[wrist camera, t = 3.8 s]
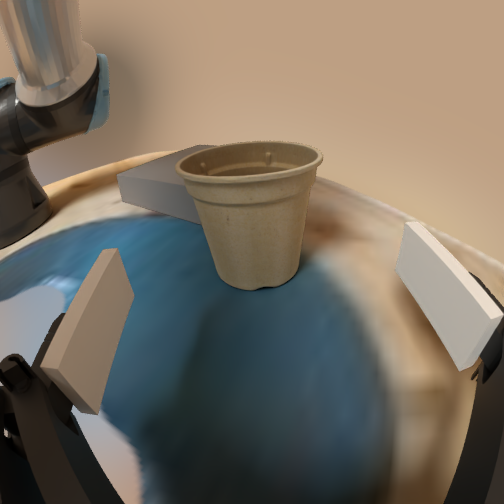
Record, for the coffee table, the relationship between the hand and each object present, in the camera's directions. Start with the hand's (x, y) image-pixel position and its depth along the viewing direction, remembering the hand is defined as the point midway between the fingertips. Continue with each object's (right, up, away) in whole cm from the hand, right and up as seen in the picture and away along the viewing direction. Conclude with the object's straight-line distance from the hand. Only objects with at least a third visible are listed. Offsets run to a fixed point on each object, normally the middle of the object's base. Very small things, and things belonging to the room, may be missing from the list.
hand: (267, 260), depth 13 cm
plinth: (-7, +9, +26) cm, 29 cm away
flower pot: (0, -1, +10) cm, 10 cm away
